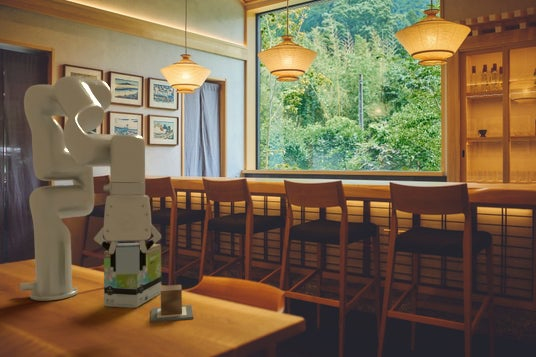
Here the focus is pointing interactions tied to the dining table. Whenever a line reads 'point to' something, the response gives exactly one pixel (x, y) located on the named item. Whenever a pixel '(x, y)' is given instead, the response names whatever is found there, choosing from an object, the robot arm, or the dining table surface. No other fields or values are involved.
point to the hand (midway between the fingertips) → (128, 268)
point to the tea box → (133, 282)
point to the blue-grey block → (127, 258)
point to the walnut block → (171, 300)
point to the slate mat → (185, 314)
